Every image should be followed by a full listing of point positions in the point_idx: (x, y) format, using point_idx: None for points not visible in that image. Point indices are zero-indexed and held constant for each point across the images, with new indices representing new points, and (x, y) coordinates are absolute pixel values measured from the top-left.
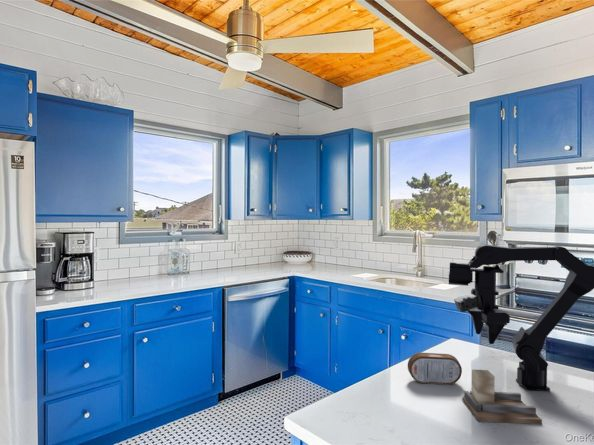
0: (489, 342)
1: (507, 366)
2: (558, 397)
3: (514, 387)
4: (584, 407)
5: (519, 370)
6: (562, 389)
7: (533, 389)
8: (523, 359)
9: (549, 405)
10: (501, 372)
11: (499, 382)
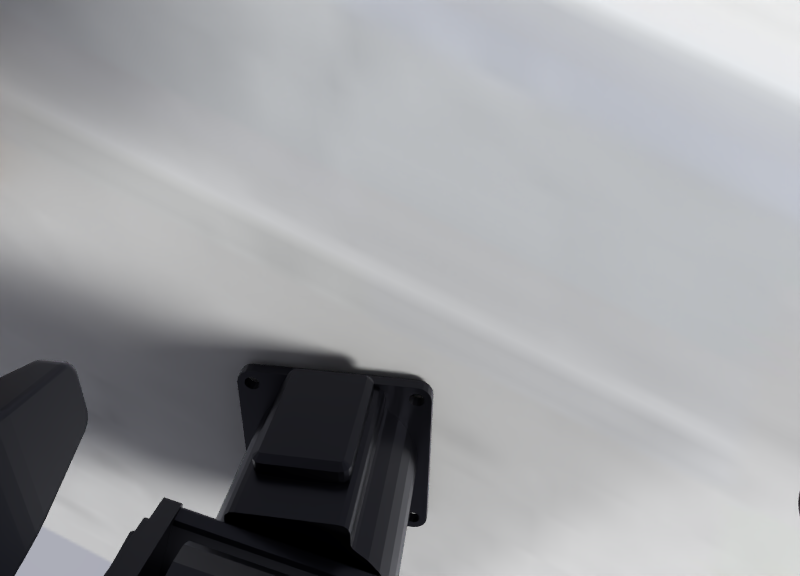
0: (17, 373)
1: (765, 481)
2: (170, 482)
3: (289, 300)
4: (64, 524)
5: (300, 449)
6: None
7: (245, 407)
8: (129, 553)
9: (21, 366)
10: (628, 364)
11: (386, 229)
